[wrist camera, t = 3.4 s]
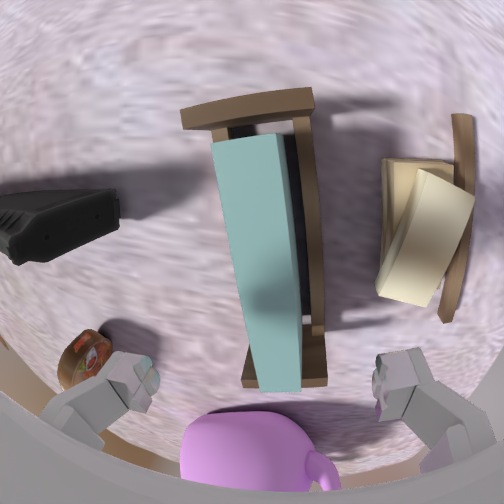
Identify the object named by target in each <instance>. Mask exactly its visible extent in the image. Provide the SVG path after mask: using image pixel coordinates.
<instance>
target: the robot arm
mask: <svg viewBox="0 0 504 504" xmlns="http://www.w3.org/2000/svg"><path fill="white" fill-rule="evenodd" d="M375 363H376V367H377V368H376V369H375V370H374V371H373V376H372V391H373V396H374V397H375V398H376V399H377V403H376V406H375V407H376V413H377V418H378V422H381V421H388V420H394V419H400V418H402V421H403V422H404V423H405V424H406V425H407V426H408V427H409V428H410V429H411V430H412V431H413V432H414V433H415V434H416V435H417V436H418V437H419V438H420V439H421V440H422V441H423V442H424V443H425V444H426V445H427V446H428V448H429V449H431V451H430V452H429V453H428V454H427V455H426V456H425V458H424V459H423V460H422V461H421V462H420V464H419V465H420V471H421V474H419V475H415V476H412V477H408V478H404V479H400V480H396V481H391V482H386V483H382V484H376V485H371V486H365V487H357V488H350V489H341V490H330V491H314V492H275V491H257V490H246V489H237V488H229V487H222V486H216V485H210V484H205V483H199V482H195V481H190V480H186V479H181V478H177V477H173V476H169V475H166V474H162V473H159V472H155V471H152V470H149V469H146V468H143V467H140V466H137V465H134V464H131V463H129V462H126V461H123V460H121V459H118V458H115V457H113V456H111V455H108V454H106V453H104V452H101V450H102V448H103V446H104V441H103V440H102V439H101V438H100V437H99V436H98V434H99V433H100V432H101V431H103V430H104V429H106V428H107V427H108V426H110V425H111V424H112V423H113V422H115V421H116V420H117V419H119V418H120V417H121V416H123V415H124V414H125V413H126V412H128V411H129V410H133V411H137V412H142V413H146V412H147V410H148V408H149V406H150V404H151V403H152V398H151V396H152V395H154V394H155V393H157V391H158V389H159V385H160V378H159V374H158V372H157V371H156V370H155V369H154V368H153V367H152V361H151V359H150V357H149V356H145V355H139V354H133V353H127V352H120V351H116V352H114V353H113V354H112V355H111V357H110V358H109V359H108V361H107V362H106V363H105V365H104V366H103V367H102V369H101V370H100V371H99V373H98V374H97V375H96V377H95V376H92V377H90V378H88V379H87V380H85V381H83V382H81V383H79V384H77V385H75V386H73V387H72V388H70V389H68V390H66V391H64V392H62V393H60V394H58V395H56V396H54V397H53V398H52V399H51V400H50V401H49V403H48V404H47V405H46V407H45V408H44V410H43V411H42V412H41V414H40V415H39V417H37V416H35V415H33V414H32V413H31V412H29V411H27V410H26V409H25V408H23V407H22V406H21V405H19V404H18V403H16V402H15V401H14V400H12V399H11V398H10V397H8V396H7V395H6V394H5V393H3V392H2V391H1V390H0V504H504V440H502V441H500V442H498V443H497V441H496V438H495V436H494V433H493V430H492V427H491V425H490V422H489V419H488V417H487V414H486V412H484V411H483V410H481V409H480V408H478V407H477V406H475V405H474V404H472V403H471V402H470V401H468V400H467V399H465V398H464V397H462V396H461V395H459V394H458V393H456V392H455V391H453V390H452V389H450V388H449V387H447V386H446V385H444V384H443V383H441V382H440V381H435V380H434V378H433V375H432V373H431V370H430V368H429V366H428V363H427V361H426V359H425V357H424V354H423V352H422V350H421V349H420V348H419V347H417V348H412V349H407V350H401V351H395V352H389V353H383V354H378V355H377V357H376V362H375ZM128 409H129V410H128Z"/></svg>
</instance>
